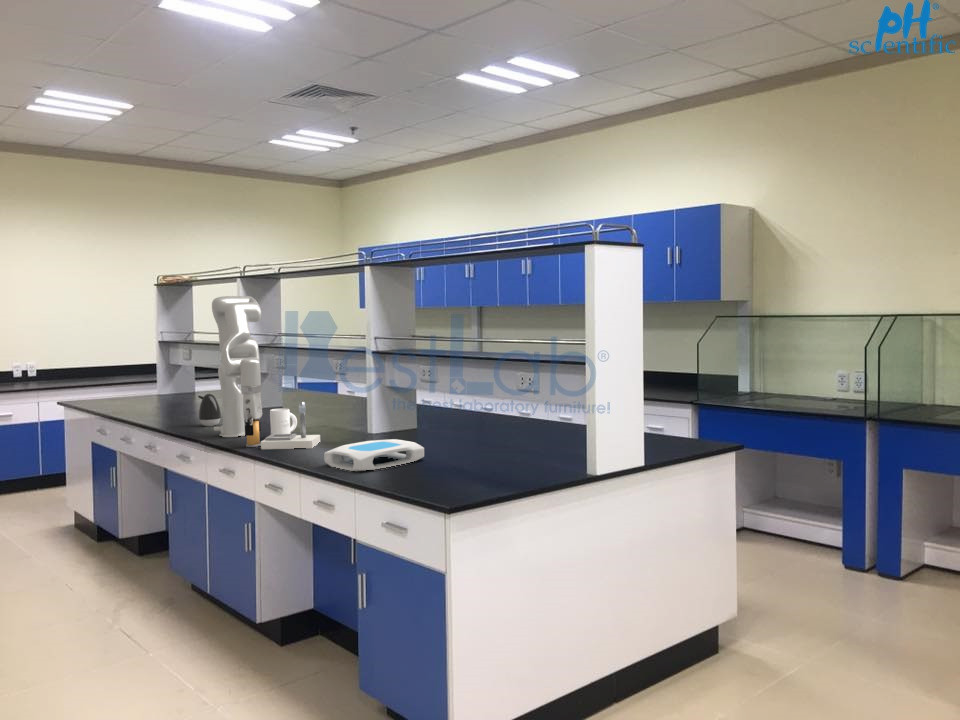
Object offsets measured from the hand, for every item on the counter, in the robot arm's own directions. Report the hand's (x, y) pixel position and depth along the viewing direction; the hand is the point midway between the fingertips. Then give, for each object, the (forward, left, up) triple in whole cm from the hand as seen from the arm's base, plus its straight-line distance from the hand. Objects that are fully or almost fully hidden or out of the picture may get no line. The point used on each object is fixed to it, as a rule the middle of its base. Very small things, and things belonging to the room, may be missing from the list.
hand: (253, 433), depth 311 cm
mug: (+7, +21, -5) cm, 23 cm away
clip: (+21, -6, -2) cm, 22 cm away
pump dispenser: (-39, +60, -5) cm, 72 cm away
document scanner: (+54, -38, -6) cm, 66 cm away
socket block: (+15, 0, -5) cm, 16 cm away
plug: (0, 0, -5) cm, 5 cm away
